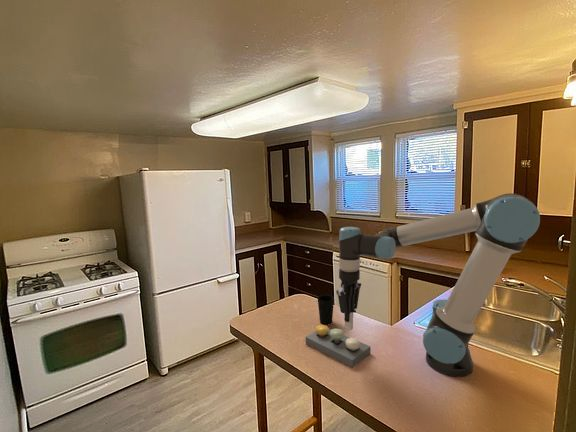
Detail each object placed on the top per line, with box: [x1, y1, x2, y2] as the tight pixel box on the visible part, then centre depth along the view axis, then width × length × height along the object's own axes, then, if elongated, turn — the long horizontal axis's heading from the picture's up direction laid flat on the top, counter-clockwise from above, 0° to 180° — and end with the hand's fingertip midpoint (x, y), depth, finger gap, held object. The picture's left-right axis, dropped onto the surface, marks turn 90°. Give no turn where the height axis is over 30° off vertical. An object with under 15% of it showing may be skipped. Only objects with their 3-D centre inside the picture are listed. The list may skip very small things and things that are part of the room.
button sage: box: [330, 328, 344, 344], centre depth 122 cm, size 5×5×4 cm
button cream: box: [346, 337, 361, 353], centre depth 117 cm, size 5×5×4 cm
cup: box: [317, 294, 335, 326], centre depth 144 cm, size 8×8×12 cm
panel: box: [305, 328, 372, 368], centre depth 123 cm, size 23×12×3 cm, turn 44°
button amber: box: [315, 324, 330, 338], centre depth 128 cm, size 5×5×4 cm
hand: (348, 328), depth 117 cm, fingers closed
